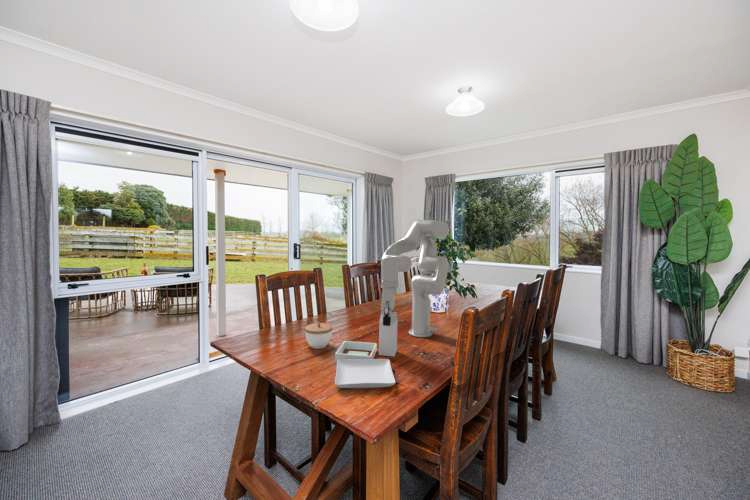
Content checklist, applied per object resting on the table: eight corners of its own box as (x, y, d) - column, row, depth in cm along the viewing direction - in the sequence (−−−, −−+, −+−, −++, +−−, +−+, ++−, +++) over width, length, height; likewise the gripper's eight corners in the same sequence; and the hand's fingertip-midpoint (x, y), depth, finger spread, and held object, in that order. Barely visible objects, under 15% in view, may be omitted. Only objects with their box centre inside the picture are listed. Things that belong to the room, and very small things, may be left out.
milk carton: (394, 357, 140) (395, 314, 139) (378, 355, 141) (379, 313, 140) (396, 350, 147) (397, 310, 146) (381, 349, 148) (382, 309, 147)
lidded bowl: (336, 348, 149) (336, 324, 148) (310, 353, 143) (310, 328, 142) (326, 339, 160) (326, 317, 159) (301, 343, 153) (301, 321, 153)
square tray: (376, 350, 147) (376, 343, 146) (370, 364, 132) (371, 356, 131) (344, 348, 149) (344, 340, 149) (335, 361, 134) (335, 353, 134)
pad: (368, 352, 144) (368, 352, 144) (364, 361, 135) (364, 360, 135) (349, 351, 145) (349, 350, 145) (344, 359, 136) (344, 358, 136)
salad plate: (337, 366, 130) (337, 358, 130) (389, 365, 132) (389, 357, 132) (334, 393, 109) (334, 383, 109) (396, 392, 111) (396, 382, 110)
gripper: (383, 281, 151) (382, 317, 152) (378, 286, 134) (376, 327, 135) (399, 281, 150) (397, 318, 151) (396, 287, 133) (394, 328, 133)
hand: (387, 322), depth 143 cm, fingers open, 9 cm apart
